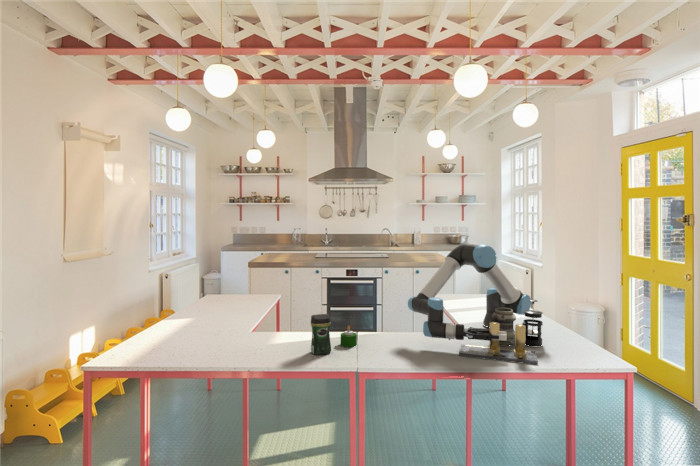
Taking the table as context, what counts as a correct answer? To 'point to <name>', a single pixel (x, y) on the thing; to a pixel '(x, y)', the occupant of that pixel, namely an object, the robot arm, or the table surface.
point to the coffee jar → (320, 334)
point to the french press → (532, 339)
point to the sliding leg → (494, 343)
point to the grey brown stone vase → (505, 323)
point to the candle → (348, 338)
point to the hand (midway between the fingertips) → (506, 336)
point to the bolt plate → (503, 350)
